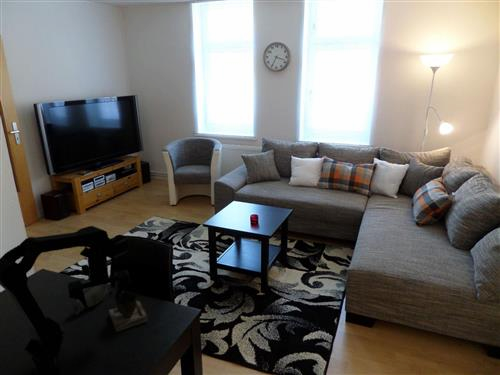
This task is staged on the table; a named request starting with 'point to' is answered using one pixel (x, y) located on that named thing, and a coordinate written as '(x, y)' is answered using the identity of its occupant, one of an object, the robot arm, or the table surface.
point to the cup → (126, 304)
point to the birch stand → (135, 319)
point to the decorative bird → (91, 297)
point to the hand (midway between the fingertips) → (101, 305)
